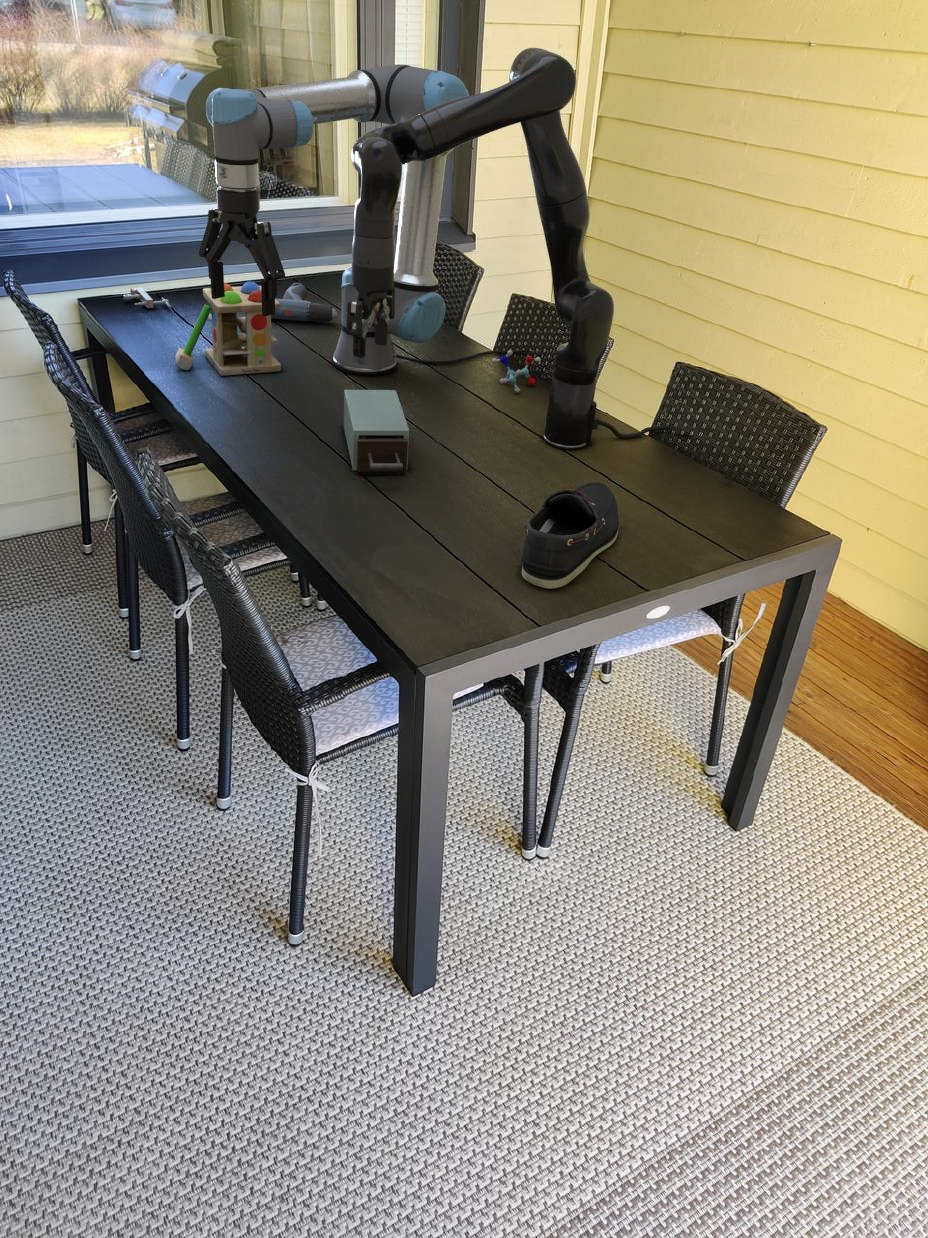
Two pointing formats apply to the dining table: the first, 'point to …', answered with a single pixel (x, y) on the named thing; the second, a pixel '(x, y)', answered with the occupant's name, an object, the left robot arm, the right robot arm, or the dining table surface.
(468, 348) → the dining table surface
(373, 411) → the cabinet
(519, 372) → the molecular model
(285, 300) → the power drill
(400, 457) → the drawer
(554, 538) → the boat shoe
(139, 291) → the clamp
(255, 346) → the pounding bench toy
